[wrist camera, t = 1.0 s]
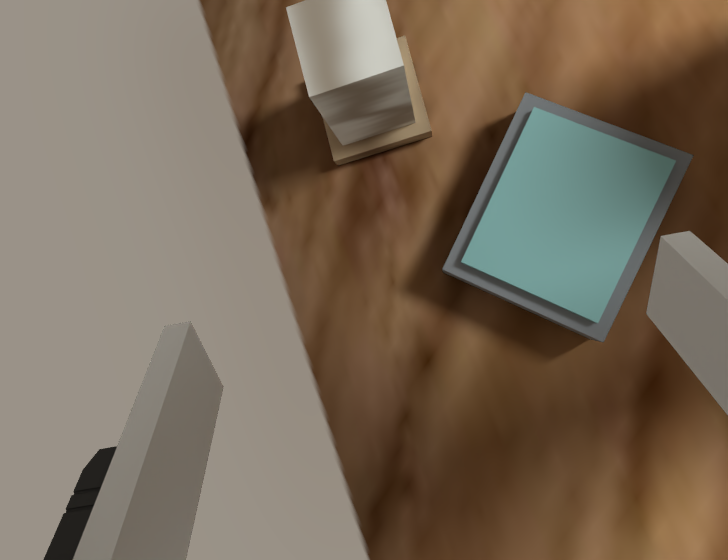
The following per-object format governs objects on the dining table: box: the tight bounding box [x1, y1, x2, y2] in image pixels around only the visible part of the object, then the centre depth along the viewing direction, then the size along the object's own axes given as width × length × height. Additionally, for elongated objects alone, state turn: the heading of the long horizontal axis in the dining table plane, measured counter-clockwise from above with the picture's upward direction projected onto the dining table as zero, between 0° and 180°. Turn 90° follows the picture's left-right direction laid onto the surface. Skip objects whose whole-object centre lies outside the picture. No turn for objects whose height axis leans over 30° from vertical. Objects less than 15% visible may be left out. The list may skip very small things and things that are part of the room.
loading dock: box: [442, 92, 694, 342], centre depth 37 cm, size 14×12×4 cm
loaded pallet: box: [286, 0, 432, 165], centre depth 37 cm, size 8×8×11 cm
